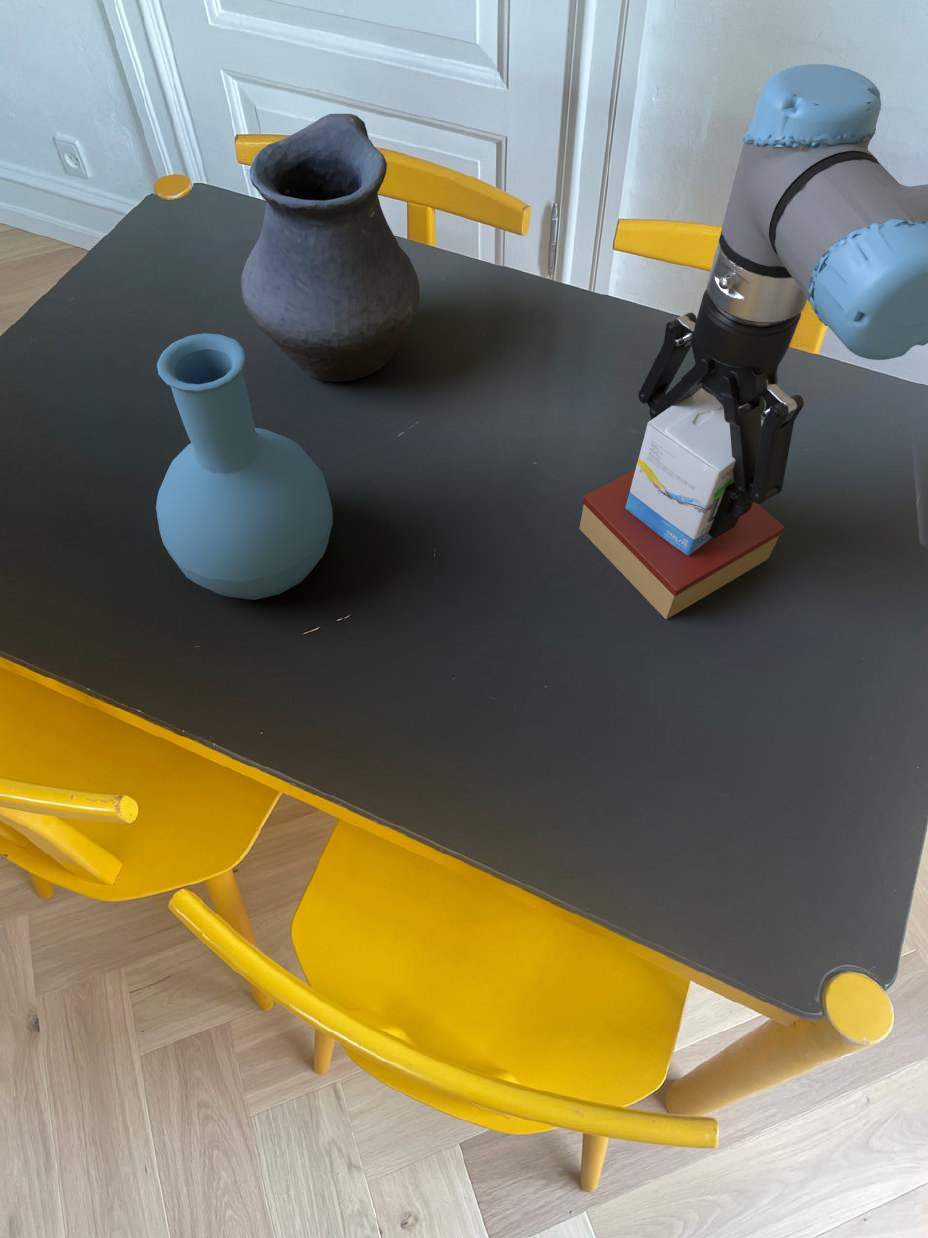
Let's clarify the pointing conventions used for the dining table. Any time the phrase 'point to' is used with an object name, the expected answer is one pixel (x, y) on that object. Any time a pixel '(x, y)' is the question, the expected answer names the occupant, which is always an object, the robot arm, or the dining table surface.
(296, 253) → the pitcher
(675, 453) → the ink box
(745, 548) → the book
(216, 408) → the vase
